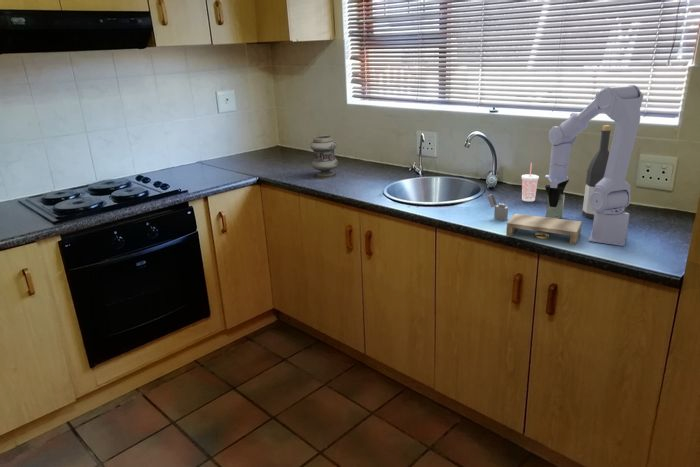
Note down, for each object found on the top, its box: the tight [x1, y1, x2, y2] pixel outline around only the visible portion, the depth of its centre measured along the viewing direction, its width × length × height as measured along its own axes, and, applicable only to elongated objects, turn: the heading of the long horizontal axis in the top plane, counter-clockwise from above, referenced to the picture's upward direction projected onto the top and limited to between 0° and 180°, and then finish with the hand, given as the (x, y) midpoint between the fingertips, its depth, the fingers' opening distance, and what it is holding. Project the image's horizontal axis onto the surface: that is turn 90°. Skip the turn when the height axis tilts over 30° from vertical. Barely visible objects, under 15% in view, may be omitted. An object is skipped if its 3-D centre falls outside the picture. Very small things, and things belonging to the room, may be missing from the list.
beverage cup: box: [521, 162, 540, 203], centre depth 195 cm, size 6×6×14 cm
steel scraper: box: [545, 193, 566, 219], centre depth 171 cm, size 6×15×8 cm, turn 150°
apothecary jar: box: [310, 134, 339, 179], centre depth 241 cm, size 12×12×18 cm
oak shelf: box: [505, 213, 582, 246], centre depth 162 cm, size 20×10×4 cm, turn 60°
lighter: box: [486, 193, 509, 221], centre depth 178 cm, size 7×2×8 cm, turn 47°
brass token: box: [534, 231, 550, 240], centre depth 161 cm, size 4×4×1 cm
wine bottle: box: [581, 124, 612, 220], centre depth 172 cm, size 8×8×30 cm
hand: (555, 203), depth 176 cm, fingers open, 7 cm apart
